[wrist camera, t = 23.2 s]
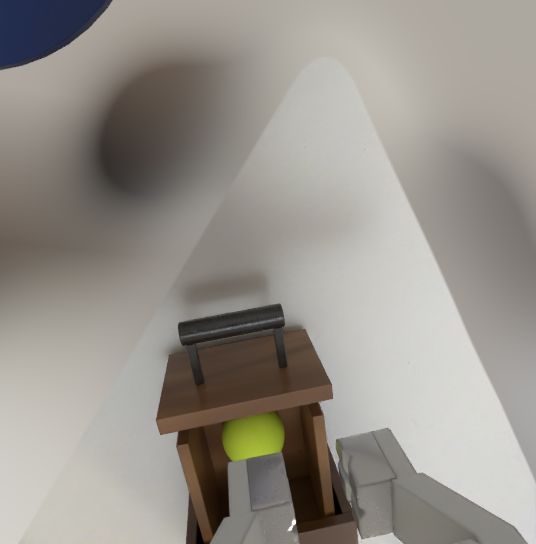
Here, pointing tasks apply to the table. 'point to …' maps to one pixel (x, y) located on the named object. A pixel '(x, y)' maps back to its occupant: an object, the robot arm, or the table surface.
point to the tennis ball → (253, 436)
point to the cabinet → (314, 534)
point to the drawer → (247, 408)
